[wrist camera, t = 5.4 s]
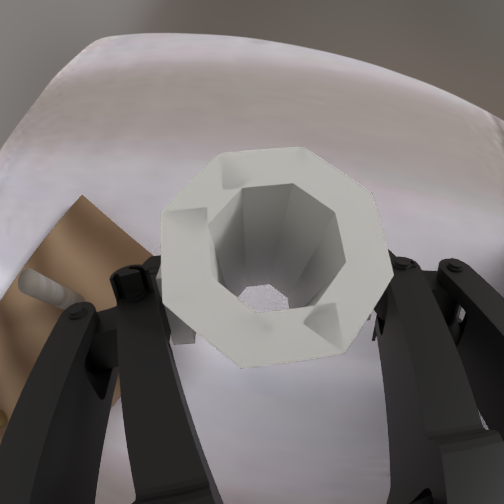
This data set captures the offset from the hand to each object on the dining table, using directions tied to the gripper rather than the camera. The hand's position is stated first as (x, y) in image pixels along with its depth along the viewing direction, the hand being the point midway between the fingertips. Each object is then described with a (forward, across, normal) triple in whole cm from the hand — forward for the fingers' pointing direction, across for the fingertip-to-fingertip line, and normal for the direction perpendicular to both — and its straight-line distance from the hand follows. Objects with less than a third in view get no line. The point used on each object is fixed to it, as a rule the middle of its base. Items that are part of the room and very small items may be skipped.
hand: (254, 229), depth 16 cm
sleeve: (0, 0, -5) cm, 5 cm away
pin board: (+2, -19, -11) cm, 22 cm away
